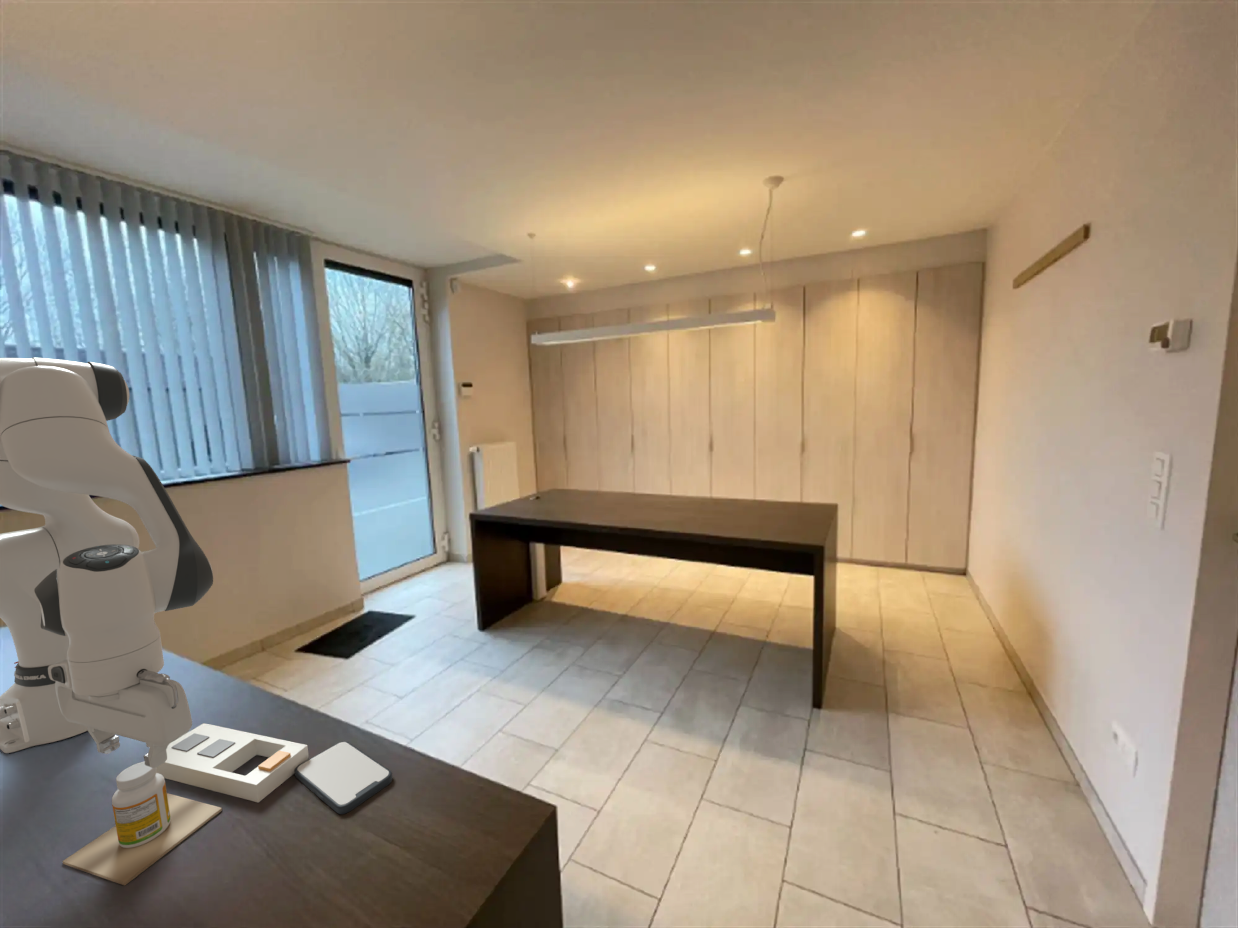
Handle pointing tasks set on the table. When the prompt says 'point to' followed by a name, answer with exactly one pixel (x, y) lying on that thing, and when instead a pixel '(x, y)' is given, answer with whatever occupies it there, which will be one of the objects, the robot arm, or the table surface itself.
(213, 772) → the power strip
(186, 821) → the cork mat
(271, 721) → the table surface
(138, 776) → the supplement bottle
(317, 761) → the phone case
